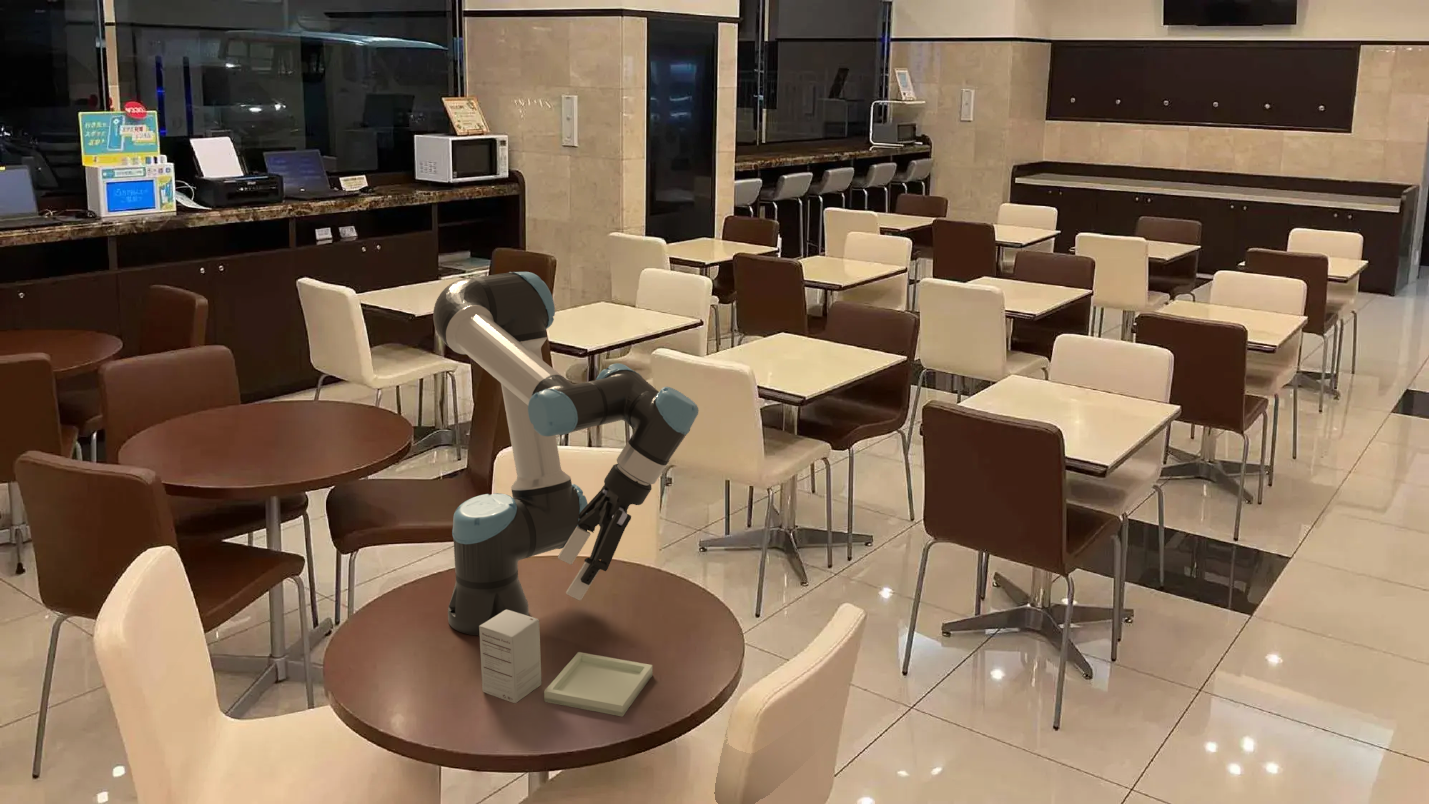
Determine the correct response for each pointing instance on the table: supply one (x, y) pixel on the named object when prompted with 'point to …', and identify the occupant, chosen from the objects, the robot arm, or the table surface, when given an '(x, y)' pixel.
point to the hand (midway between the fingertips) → (568, 578)
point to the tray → (598, 684)
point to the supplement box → (510, 655)
